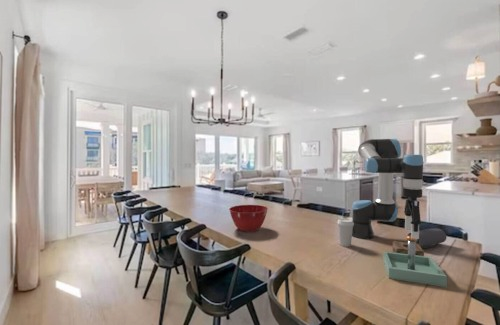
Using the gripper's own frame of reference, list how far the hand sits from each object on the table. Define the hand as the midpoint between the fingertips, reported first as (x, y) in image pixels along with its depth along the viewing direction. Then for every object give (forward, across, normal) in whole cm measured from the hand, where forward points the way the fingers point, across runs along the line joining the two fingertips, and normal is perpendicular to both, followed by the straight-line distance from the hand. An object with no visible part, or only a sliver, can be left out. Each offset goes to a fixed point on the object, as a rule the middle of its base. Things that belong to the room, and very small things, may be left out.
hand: (411, 233), depth 117 cm
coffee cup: (+18, +26, +29) cm, 43 cm away
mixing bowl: (+19, +36, +96) cm, 104 cm away
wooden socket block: (+18, +18, -2) cm, 26 cm away
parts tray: (+18, -1, 0) cm, 18 cm away
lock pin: (+16, -1, 0) cm, 17 cm away
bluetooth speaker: (+19, +41, -16) cm, 48 cm away
